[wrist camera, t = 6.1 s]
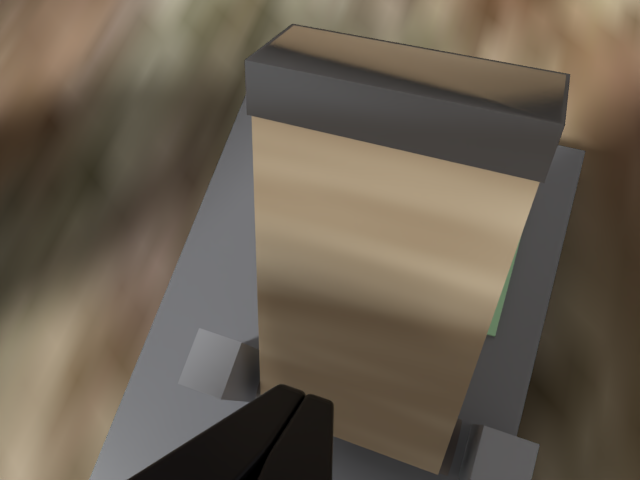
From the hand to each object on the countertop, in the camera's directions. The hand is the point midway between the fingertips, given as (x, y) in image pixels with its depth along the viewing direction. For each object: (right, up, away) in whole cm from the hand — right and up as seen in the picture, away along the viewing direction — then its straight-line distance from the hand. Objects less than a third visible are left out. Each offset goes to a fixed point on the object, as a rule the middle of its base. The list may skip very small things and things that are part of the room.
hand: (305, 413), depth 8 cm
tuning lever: (+1, -1, +4) cm, 5 cm away
